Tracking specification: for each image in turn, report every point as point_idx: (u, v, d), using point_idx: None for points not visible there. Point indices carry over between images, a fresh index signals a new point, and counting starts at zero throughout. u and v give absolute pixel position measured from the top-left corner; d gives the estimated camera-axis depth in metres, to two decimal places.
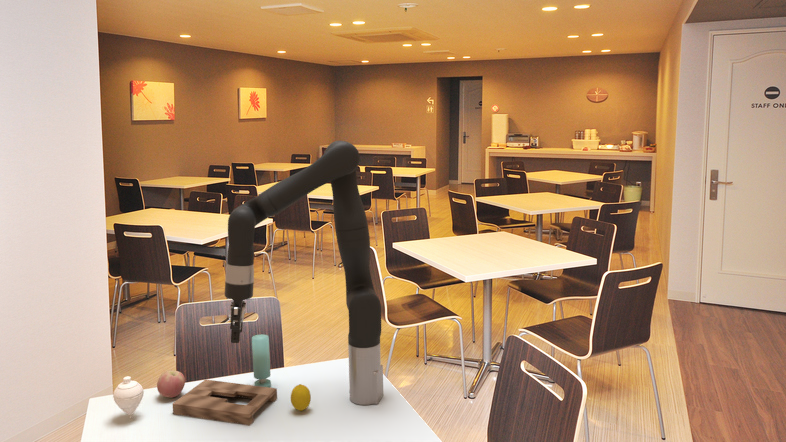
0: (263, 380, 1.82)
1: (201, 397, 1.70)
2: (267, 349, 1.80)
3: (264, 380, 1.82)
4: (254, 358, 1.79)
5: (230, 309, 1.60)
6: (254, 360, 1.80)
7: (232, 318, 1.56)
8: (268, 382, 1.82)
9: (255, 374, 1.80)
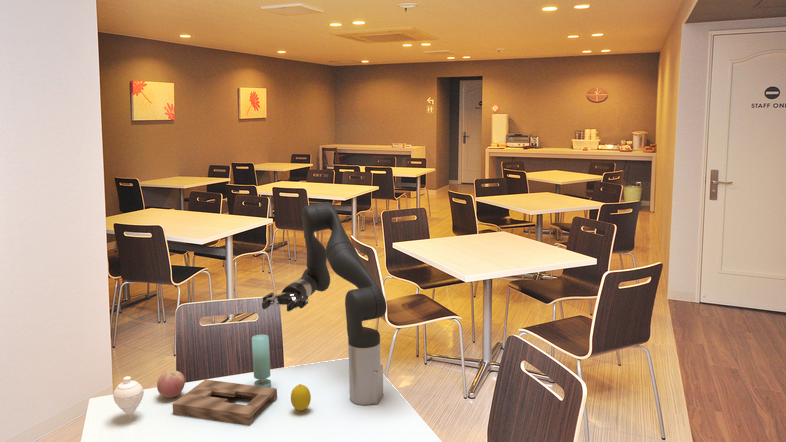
0: (263, 380, 1.82)
1: (201, 397, 1.70)
2: (267, 349, 1.80)
3: (264, 380, 1.82)
4: (254, 358, 1.79)
5: None
6: (254, 360, 1.80)
7: None
8: (268, 382, 1.82)
9: (255, 374, 1.80)
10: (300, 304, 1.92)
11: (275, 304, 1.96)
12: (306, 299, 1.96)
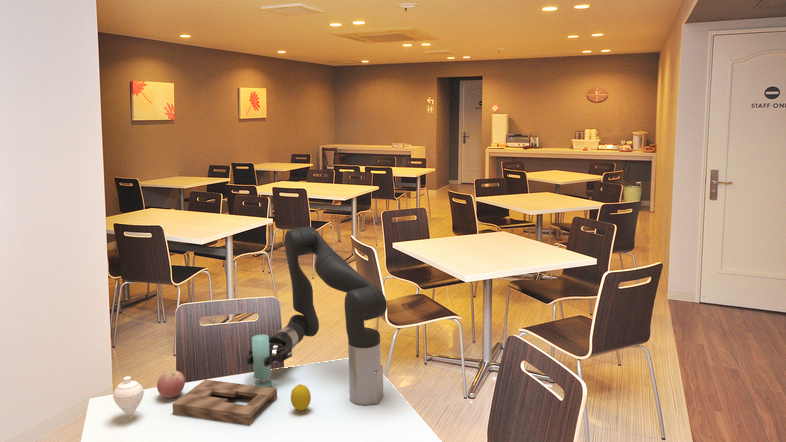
0: (263, 380, 1.82)
1: (201, 397, 1.70)
2: (267, 349, 1.80)
3: (264, 380, 1.82)
4: (254, 358, 1.79)
5: None
6: (254, 360, 1.80)
7: None
8: (268, 382, 1.82)
9: (255, 374, 1.80)
10: (279, 358, 1.82)
11: None
12: (288, 352, 1.85)
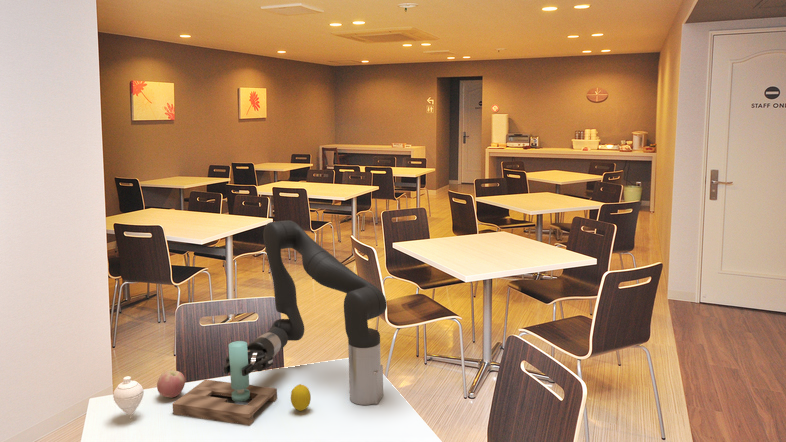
0: (241, 390, 1.68)
1: (201, 397, 1.70)
2: (245, 357, 1.66)
3: (242, 390, 1.68)
4: (231, 367, 1.65)
5: None
6: (231, 369, 1.66)
7: None
8: (247, 392, 1.69)
9: (232, 384, 1.66)
10: (258, 367, 1.68)
11: None
12: (269, 360, 1.71)
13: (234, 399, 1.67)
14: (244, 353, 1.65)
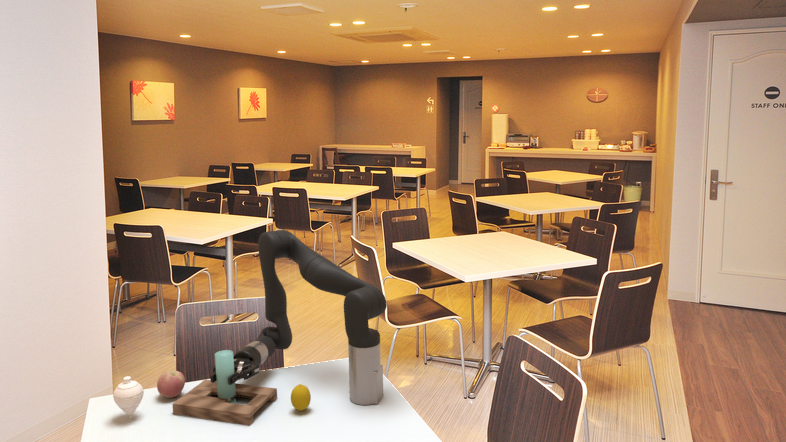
0: None
1: (201, 397, 1.70)
2: (231, 366, 1.68)
3: (229, 399, 1.70)
4: (217, 376, 1.67)
5: None
6: (217, 378, 1.67)
7: None
8: (233, 401, 1.70)
9: (219, 393, 1.68)
10: (244, 375, 1.70)
11: None
12: (255, 369, 1.73)
13: None
14: (230, 362, 1.67)
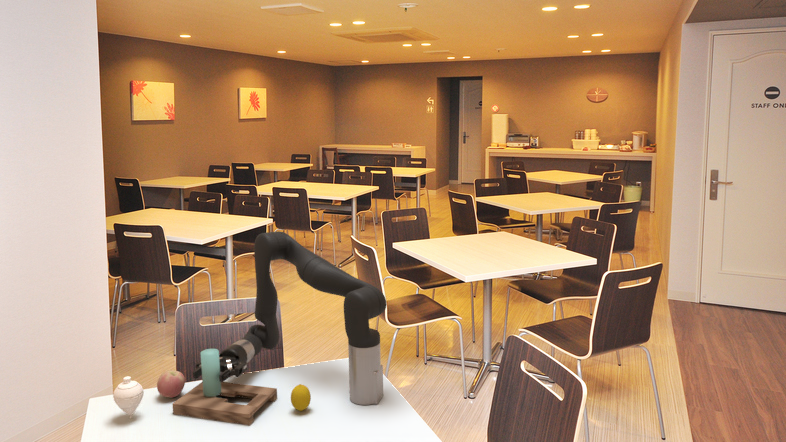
0: None
1: (201, 397, 1.70)
2: (217, 364, 1.69)
3: None
4: (203, 374, 1.69)
5: None
6: (203, 376, 1.69)
7: None
8: None
9: (204, 391, 1.69)
10: (236, 373, 1.71)
11: None
12: (244, 366, 1.75)
13: None
14: (215, 360, 1.68)
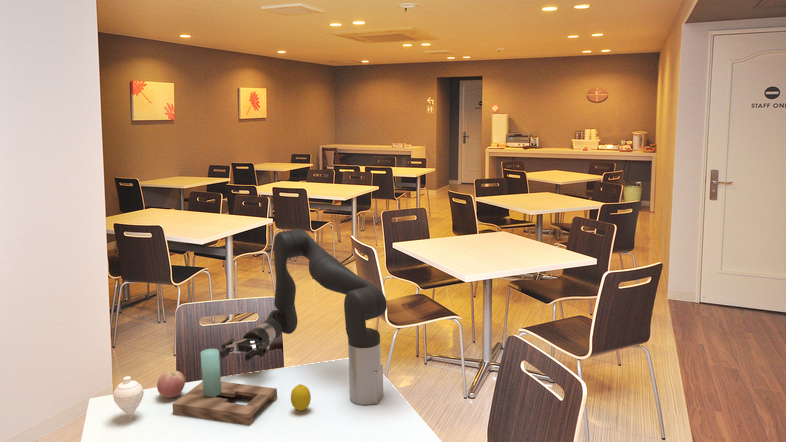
0: None
1: (201, 397, 1.70)
2: (217, 364, 1.69)
3: None
4: (203, 374, 1.69)
5: None
6: (203, 376, 1.69)
7: None
8: None
9: (204, 391, 1.69)
10: (260, 352, 1.83)
11: (235, 352, 1.87)
12: (267, 346, 1.87)
13: None
14: (216, 360, 1.68)
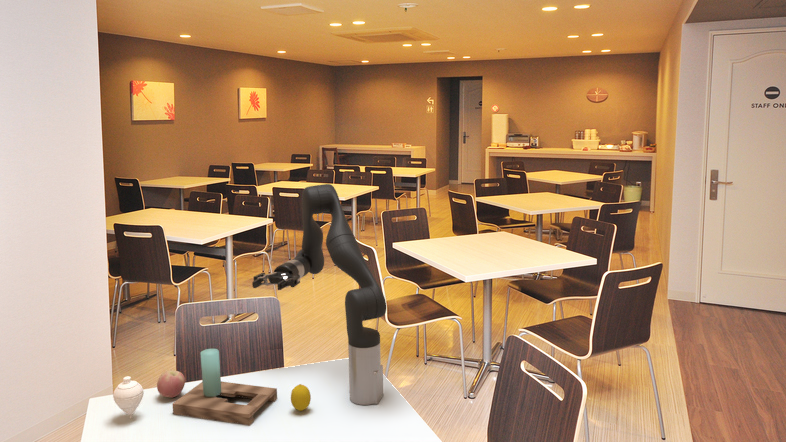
0: None
1: (201, 397, 1.70)
2: (217, 364, 1.69)
3: None
4: (203, 374, 1.69)
5: None
6: (203, 376, 1.69)
7: None
8: None
9: (204, 391, 1.69)
10: (291, 283, 1.87)
11: (266, 283, 1.91)
12: (298, 278, 1.91)
13: None
14: (215, 360, 1.68)
